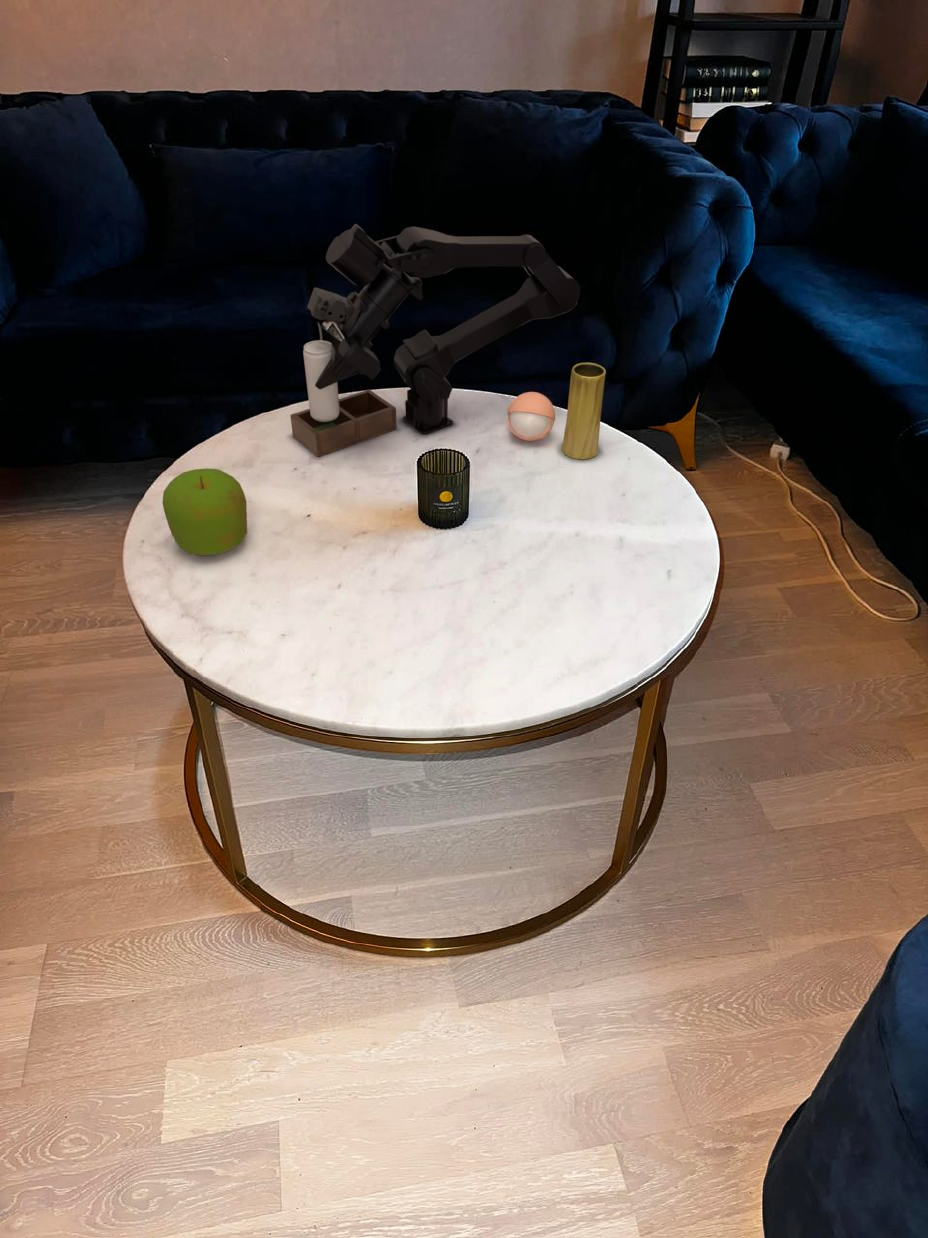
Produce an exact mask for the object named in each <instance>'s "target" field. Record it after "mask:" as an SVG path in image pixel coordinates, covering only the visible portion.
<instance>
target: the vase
mask: <svg viewBox="0 0 928 1238" xmlns="http://www.w3.org/2000/svg"><path fill="white" fill-rule="evenodd" d="M606 372H607V371H606V369H605V367H603V366H602V365H600V364H598V363H595V362H580V363H576V364H575V365H573V367H572V369H571V373H570V380H569V392H568V402H567V411H566V422H565V426H564V431H563V440H562V444H561V448H560V449H561V452H562V453H563V454H564V455H565V456H567V457H569V458H571V459H575V460H589V459H592V458H594V457H595V456H597V455H598V454H599V451H600V450H599V440H600V429H601V420H602V419H601V417H602V407H603V398H604V388H605V381H606Z"/></svg>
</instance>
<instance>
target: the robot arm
mask: <svg viewBox="0 0 928 1238" xmlns="http://www.w3.org/2000/svg"><path fill="white" fill-rule="evenodd" d="M325 260H326V262H327V263H328V264H329V265H330V266H331V267H332V268H334V269H335V270H336V271H338V272H339V273H340V274H341V275H342V276H344V277H345V278H346V279H347V280H348V281H349V282H351V283H352V284H353V285H354V286H356V287H359V286H364V287H363V288H362V289H361V290H360V292H356V291H351V292H350V293H349V294H348V296H347V297H345V296H342V295H340V294H338V293H334V292H333V291H329V290H325V289H322V288H319V287H314V288H313V290H312V293H311V296H310V299H309V301H308V304H307V310H309V311H310V313H311V316H312V318H315V319H317V320H319V321H317V327H318V331H319V340H323V341H328V342H330V343H332V344H331V351H332V357H331V359H330V361H329V362H328V364H327V365H326V367H325V369H324V370H323V372H322V373H321V375H320V376H319V378H318V380H317V382H316V383H315V386H316V387H317V388H318V389H323V388H325V387H327V386H329V385H332V384H334V383H336V382H337V383H339V382H340V381H342V380H345V379H348V378H351V377H353V376H356V375H358V374H360V375H365V376H366V377H367V378H369V379H370V380H374V379H375V378H376V377H377V376H378V374H379V373H380V372H381V362H380V360H379V359H378V357H377V356H376V354H375V352H373V351H371V349H372V347H373V346H374V345H373V343H372V341H371V340H372V339H373V338H374V337H375V336H376V334H378V332H379V331H380V330H381V329H382V328H383V329H384V330H387V329H388V328H389V327H390V326H391V324H390V322H389V321H388V320H389V319H390V318H391V316H392V315H393V314H394V313H395V311H396V310H397V309H398V308H399V307H400V305H402V303H403V302H404V301H405V299H406V298H407V297H408V295H409V294H411V295H412V296H414V297H415V298H416V299H417V300H418V301H422V300H423V298H424V296H423V290H422V286H423V281H422V280H421V279H427V278H432V277H436V276H442V275H445V274H446V273H448V272H450V271H453V270H456V269H461V268H463V269H464V268H518V267H519V268H520V267H522V268H523V269H524V270H525V271H526V273H527V274H528V277H527V278H526V279H525V281H524V282H523V284H522V285H521V287H520V288H519V289H518V291H517V292H516V293H515V294H513V295H511V296H510V297H507V298H506V299H504V300H502V301H500V302H498V303H496V304H495V305H493V306H491V307H490V308H488V309H486V310H485V311H483V312H480V313H479V314H477V315H475V316H473V317H472V318H470V319H468V320H466V321H464V322H462V323H461V324H459V325H458V326H455V327H454V328H452V329H450V330H449V331H446V332H445V333H443V334H440V335H434V336H432V335H430V333H429V332H428V331H427V330H426V329H423V330H421V331H419V332H418V333H417V334H415V335H414V336H412V337H410V338H406V339H403V340H402V343H403V344H402V345H400V346H399V347H398V348H397V349H396V350H395V354H394V357H393V365H394V368H395V370H396V371H397V372H398V374H399V375H400V378H402V380H403V381H404V384H406V385H407V387H408V388H409V389H407V390H406V400H405V401H404V404H405V410H404V411H405V415H404V416H402V422H404V423H405V424H407V425H408V426H410V427H411V428H412V429H414V430H415V431H417V432H418V433H420V434H421V435H427V434H428V435H429V434H430V433H434V432H436V431H439V430H441V429H442V430H443V429H444V428H447V427H450V426H452V425H454V421H453V420H452V419H451V418H450V417H449V409H448V408H449V398H450V396H451V394H452V390H453V386H452V384H450V382H449V381H448V380H447V378H446V376H447V375H448V374H449V373H450V371H451V369H452V368H453V367H454V366H455V364H456V363H457V362H458V361H460V360H462V359H464V358H466V357H467V356H469V355H471V354H473V353H475V352H477V351H479V350H480V349H481V348H483V347H485V346H487V345H489V344H491V343H492V342H495V341H496V340H498V339H500V338H501V337H503V336H505V335H507V334H508V333H509V334H510V332H512V331H514V330H516V329H518V328H519V327H521V326H523V325H525V324H526V323H528V322H531V321H534V320H543V319H544V320H545V319H552V318H555V317H557V316H561V315H563V314H566V313H568V312H570V311H572V310H573V309H574V308H575V307H576V306H577V305H578V301H579V299H580V296H581V287H580V284H579V282H578V281H577V280H576V279H575V278H574V277H572V275H570V274H569V273H568V272H567V271H565V270H564V269H563V268H562V267H560V266H559V265H557V263H555V261H554V260H553V258H552V257H551V256H550V255H549V254H548V252H547V251H546V249H545V247H544V245H543V244H542V243H540V242H539V241H538V239H536V238H535V237H533V236H532V235H530V234H522V235H516V236H514V235H512V236H511V235H510V236H508V235H503V236H501V235H499V236H497V235H494V236H489V235H487V236H483V235H482V236H479V235H478V236H455V235H449V234H445V233H443V232H440V231H436V230H433V229H428V228H422V227H418V226H409V227H405V228H404V229H402V231H401V233H399V234H398V235H394V236H391V237H388V238H383V239H380V240H376V241H374V240H373V239H372V238H371V237H370V236H369V235H368V234H367V233H366V231H364V229H363V228H361V226H359V224H357V223H355V224H353V226H352V227H351V228H350V229H347V230H344V231H343V232H342V233H340V234H339V236H336V237H334V239H333V240H332V242H331V243H330V245H329V246H328V249H327V251H326V255H325ZM385 263H387V264H388V265H389V266H390V267H389V266H388V265H387V264H385ZM391 267H392V268H391ZM407 273H410V275H412V276H413V277H412V276H410V275H408V274H407ZM321 321H323V322H322V323H321Z"/></svg>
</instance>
